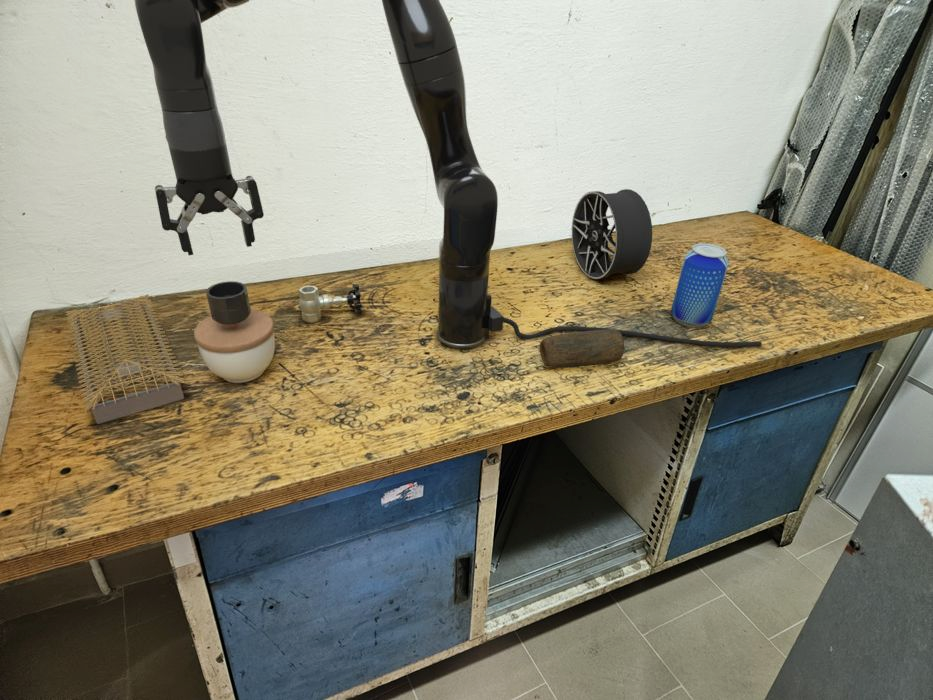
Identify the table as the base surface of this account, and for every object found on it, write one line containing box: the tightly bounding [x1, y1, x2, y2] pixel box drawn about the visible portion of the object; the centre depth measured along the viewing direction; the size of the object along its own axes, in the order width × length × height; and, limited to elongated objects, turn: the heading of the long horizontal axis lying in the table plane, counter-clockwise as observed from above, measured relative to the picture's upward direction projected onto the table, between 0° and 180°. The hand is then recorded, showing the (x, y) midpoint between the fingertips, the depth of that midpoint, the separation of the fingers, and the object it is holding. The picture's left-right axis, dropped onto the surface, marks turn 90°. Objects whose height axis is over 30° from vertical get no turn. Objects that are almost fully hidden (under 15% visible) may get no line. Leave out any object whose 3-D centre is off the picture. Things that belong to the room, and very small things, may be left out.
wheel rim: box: [571, 188, 653, 280], centre depth 138 cm, size 20×9×20 cm, turn 20°
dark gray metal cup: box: [205, 280, 252, 325], centre depth 96 cm, size 6×6×5 cm
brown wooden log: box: [538, 328, 625, 369], centre depth 108 cm, size 15×7×7 cm, turn 105°
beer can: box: [670, 242, 730, 329], centre depth 121 cm, size 8×8×16 cm
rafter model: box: [65, 294, 188, 425], centre depth 103 cm, size 35×14×6 cm, turn 33°
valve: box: [298, 283, 363, 323], centre depth 119 cm, size 7×7×12 cm
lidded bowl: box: [193, 309, 276, 384], centre depth 101 cm, size 13×13×11 cm
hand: (220, 249), depth 91 cm, fingers open, 8 cm apart
